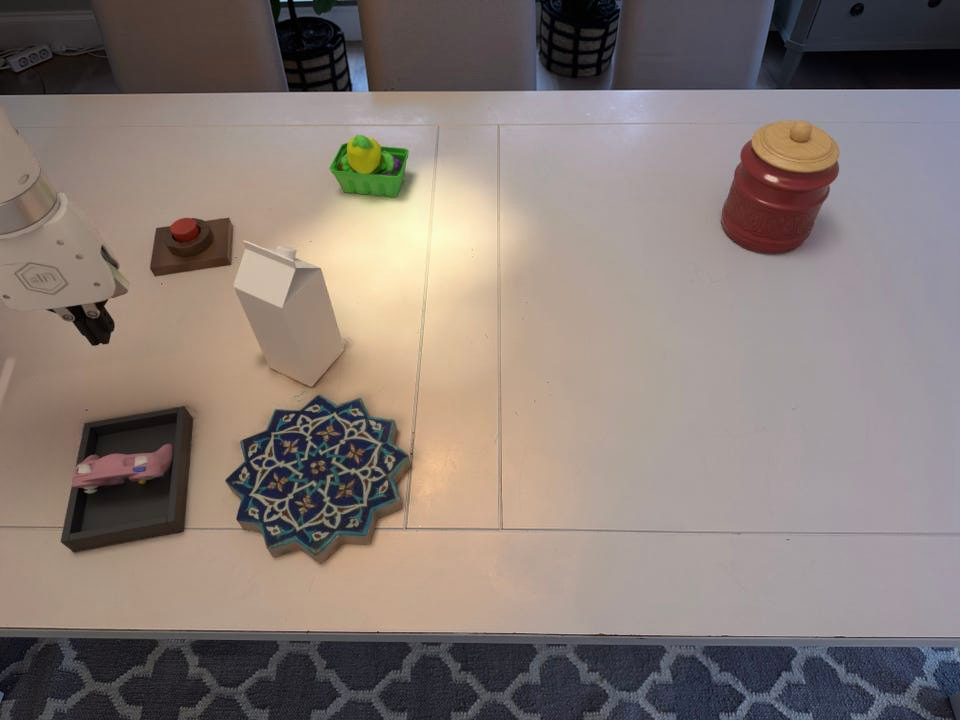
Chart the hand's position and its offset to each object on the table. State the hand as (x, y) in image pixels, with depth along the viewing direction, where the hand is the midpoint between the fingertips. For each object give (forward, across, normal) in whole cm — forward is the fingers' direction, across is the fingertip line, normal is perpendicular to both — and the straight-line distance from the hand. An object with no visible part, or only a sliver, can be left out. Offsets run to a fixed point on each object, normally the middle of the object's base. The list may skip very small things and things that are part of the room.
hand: (103, 335), depth 73 cm
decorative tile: (+14, +20, -14) cm, 28 cm away
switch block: (+14, +2, +29) cm, 32 cm away
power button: (+11, +2, +29) cm, 31 cm away
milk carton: (+14, +19, +4) cm, 24 cm away
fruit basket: (+14, +30, +38) cm, 51 cm away
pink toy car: (+13, -1, -10) cm, 17 cm away
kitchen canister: (+14, +88, +16) cm, 90 cm away
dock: (+14, -1, -10) cm, 17 cm away
